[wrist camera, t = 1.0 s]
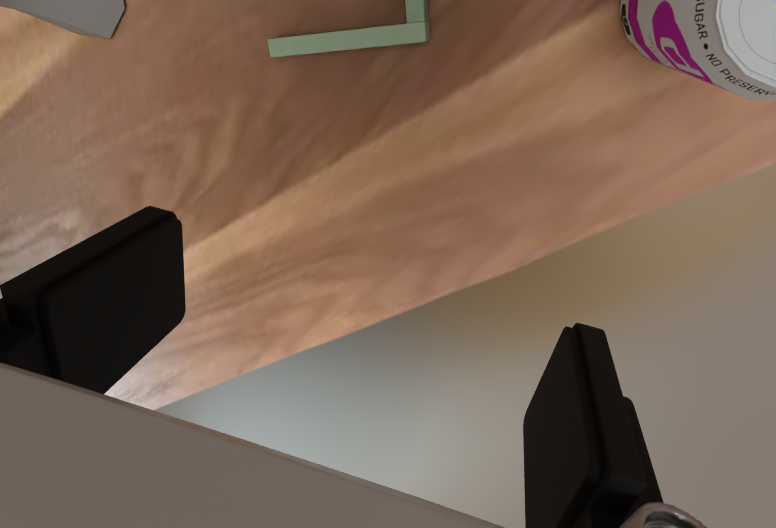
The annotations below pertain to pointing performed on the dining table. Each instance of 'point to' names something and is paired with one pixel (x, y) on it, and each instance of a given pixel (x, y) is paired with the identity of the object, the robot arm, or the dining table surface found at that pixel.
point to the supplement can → (709, 40)
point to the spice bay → (359, 35)
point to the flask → (74, 14)
